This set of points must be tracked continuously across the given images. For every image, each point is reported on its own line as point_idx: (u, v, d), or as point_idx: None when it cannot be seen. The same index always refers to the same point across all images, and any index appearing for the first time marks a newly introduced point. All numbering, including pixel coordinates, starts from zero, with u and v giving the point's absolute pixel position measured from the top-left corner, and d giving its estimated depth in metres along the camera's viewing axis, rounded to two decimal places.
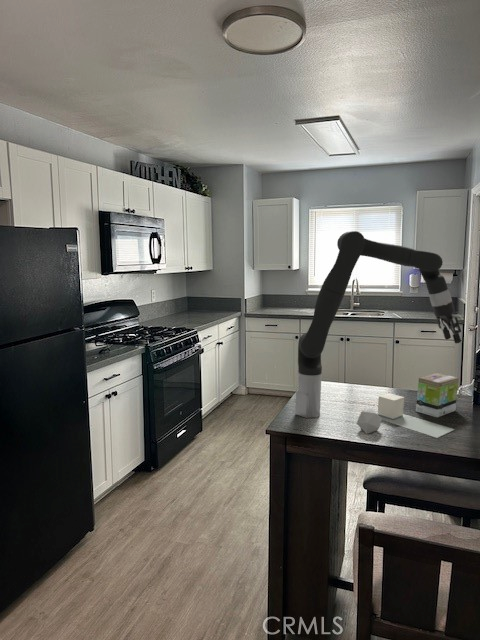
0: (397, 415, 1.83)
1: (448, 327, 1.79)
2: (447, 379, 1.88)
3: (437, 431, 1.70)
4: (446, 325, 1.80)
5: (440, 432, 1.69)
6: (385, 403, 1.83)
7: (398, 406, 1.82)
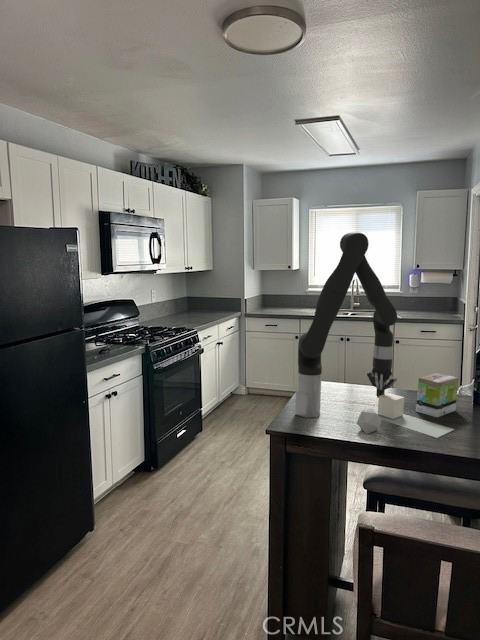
0: (397, 415, 1.83)
1: (382, 383, 1.86)
2: (447, 379, 1.88)
3: (437, 431, 1.70)
4: (381, 379, 1.86)
5: (440, 432, 1.69)
6: (385, 403, 1.83)
7: (398, 406, 1.82)
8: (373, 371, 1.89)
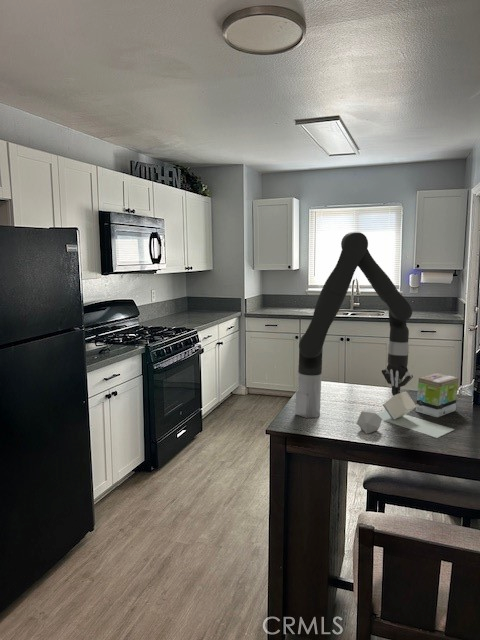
0: (399, 417, 1.82)
1: (398, 380, 1.80)
2: (447, 379, 1.88)
3: (437, 431, 1.70)
4: (397, 376, 1.80)
5: (440, 432, 1.69)
6: (397, 404, 1.79)
7: (406, 412, 1.80)
8: (388, 368, 1.84)
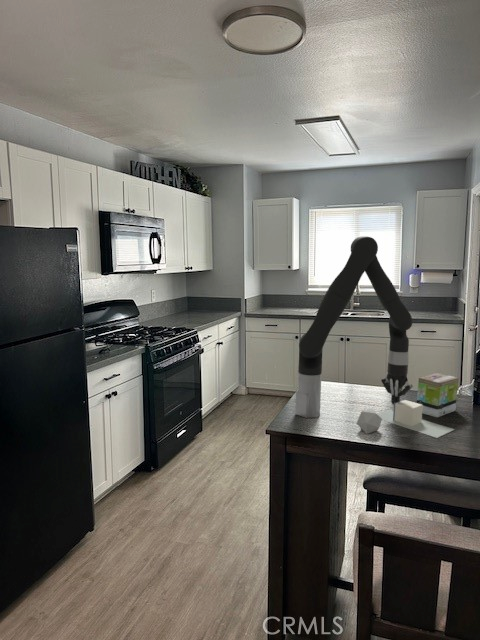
0: None
1: (397, 389, 1.81)
2: (447, 379, 1.88)
3: (437, 431, 1.70)
4: (396, 386, 1.81)
5: (440, 432, 1.69)
6: (407, 415, 1.76)
7: None
8: (388, 377, 1.84)
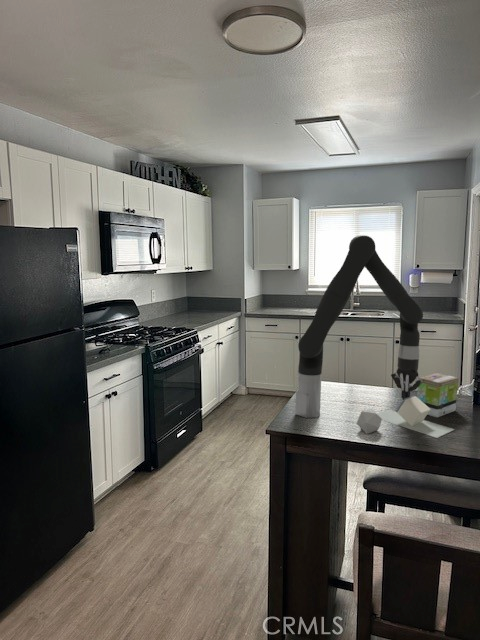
0: None
1: (408, 384, 1.77)
2: (447, 379, 1.88)
3: (437, 431, 1.70)
4: (407, 380, 1.77)
5: (440, 432, 1.69)
6: (412, 415, 1.74)
7: None
8: (398, 372, 1.81)
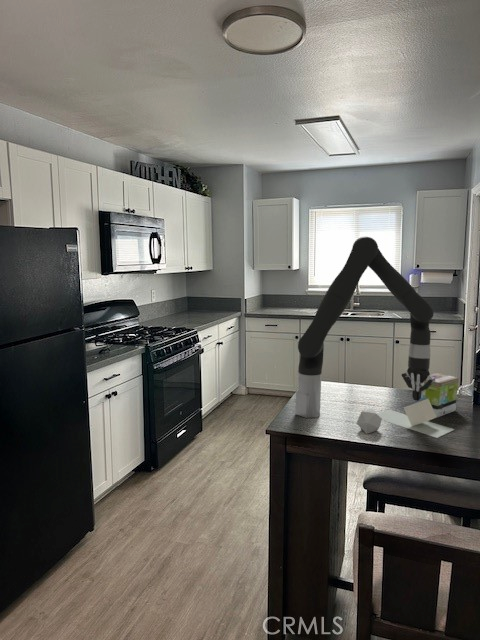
0: None
1: (419, 384, 1.73)
2: (447, 379, 1.88)
3: (437, 431, 1.70)
4: (418, 380, 1.74)
5: (440, 432, 1.69)
6: (417, 418, 1.73)
7: None
8: (409, 371, 1.77)
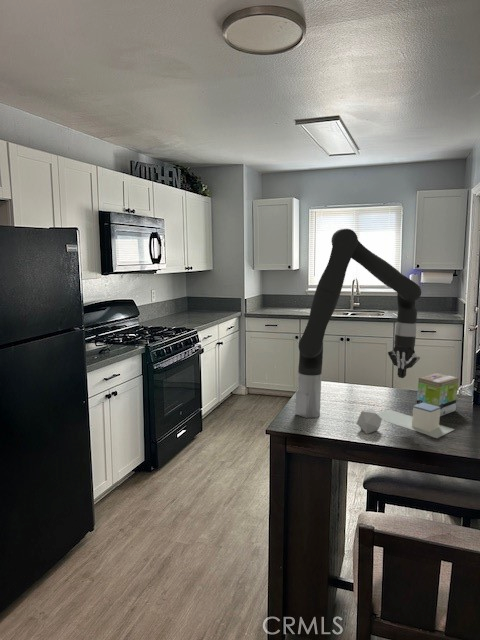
0: None
1: (404, 361, 1.78)
2: (447, 379, 1.88)
3: (437, 431, 1.70)
4: (403, 358, 1.78)
5: (440, 432, 1.69)
6: (421, 423, 1.72)
7: None
8: (395, 349, 1.82)
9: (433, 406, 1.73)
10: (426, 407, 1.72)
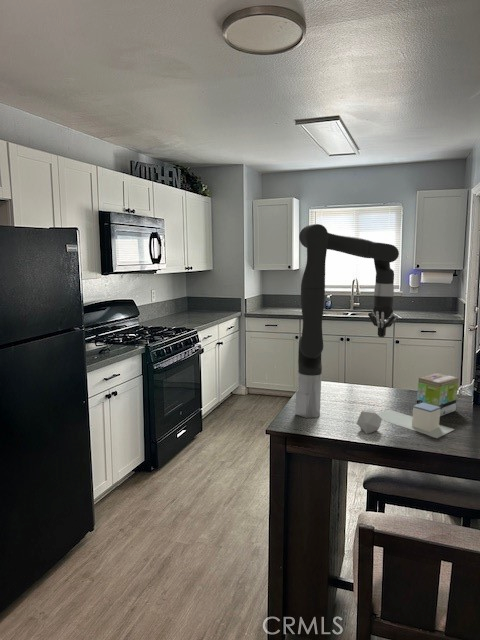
0: None
1: (383, 321, 1.86)
2: (447, 379, 1.88)
3: (437, 431, 1.70)
4: (382, 317, 1.86)
5: (440, 432, 1.69)
6: (421, 423, 1.72)
7: None
8: (374, 310, 1.90)
9: (433, 406, 1.73)
10: (426, 407, 1.72)
